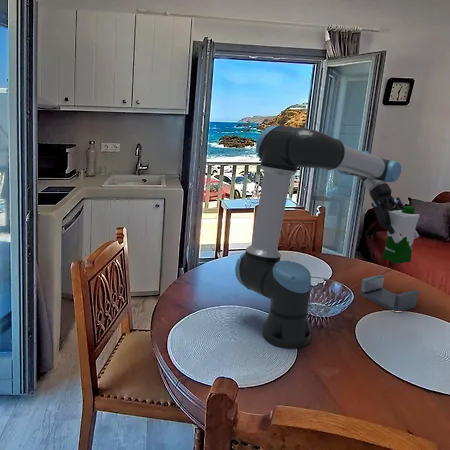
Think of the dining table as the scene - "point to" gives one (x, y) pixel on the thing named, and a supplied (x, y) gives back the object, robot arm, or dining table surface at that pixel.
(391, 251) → the soya milk
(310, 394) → the dining table surface
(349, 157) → the robot arm
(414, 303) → the vise base
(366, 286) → the block
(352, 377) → the dining table surface
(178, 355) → the dining table surface
